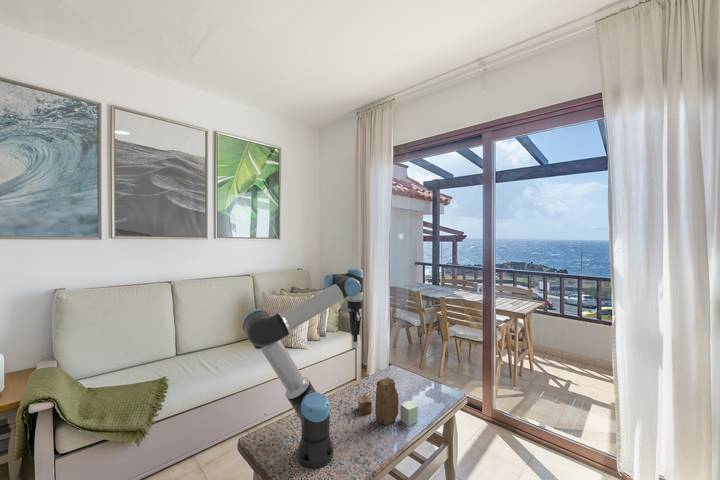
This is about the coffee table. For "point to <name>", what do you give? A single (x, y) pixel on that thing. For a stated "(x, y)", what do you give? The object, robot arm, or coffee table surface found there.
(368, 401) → the walnut block
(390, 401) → the pitted sandstone rock
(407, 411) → the green block
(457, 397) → the coffee table surface
